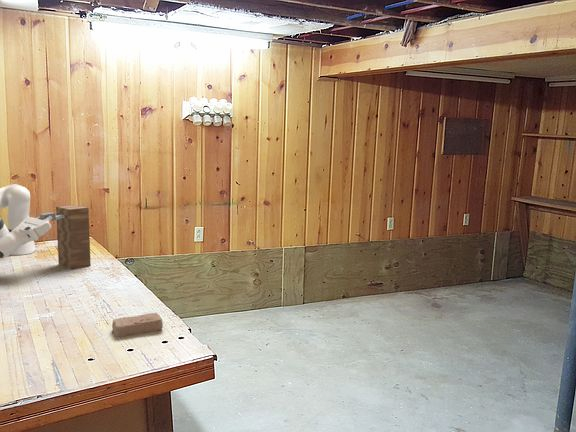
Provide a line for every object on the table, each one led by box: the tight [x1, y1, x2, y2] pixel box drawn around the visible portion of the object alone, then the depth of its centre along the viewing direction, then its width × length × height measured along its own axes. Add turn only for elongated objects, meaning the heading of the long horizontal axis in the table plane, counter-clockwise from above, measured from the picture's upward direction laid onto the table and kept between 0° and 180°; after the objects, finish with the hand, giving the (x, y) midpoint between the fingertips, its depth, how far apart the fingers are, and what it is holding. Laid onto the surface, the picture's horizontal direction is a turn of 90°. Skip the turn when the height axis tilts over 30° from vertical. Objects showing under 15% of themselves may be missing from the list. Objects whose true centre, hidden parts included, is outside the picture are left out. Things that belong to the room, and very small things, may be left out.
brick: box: [111, 312, 163, 338], centre depth 187 cm, size 16×8×5 cm, turn 118°
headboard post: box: [55, 204, 92, 270], centre depth 270 cm, size 14×10×31 cm
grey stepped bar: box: [39, 211, 65, 222], centre depth 262 cm, size 16×4×4 cm, turn 142°
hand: (48, 216), depth 259 cm, fingers closed on grey stepped bar, 4 cm apart
